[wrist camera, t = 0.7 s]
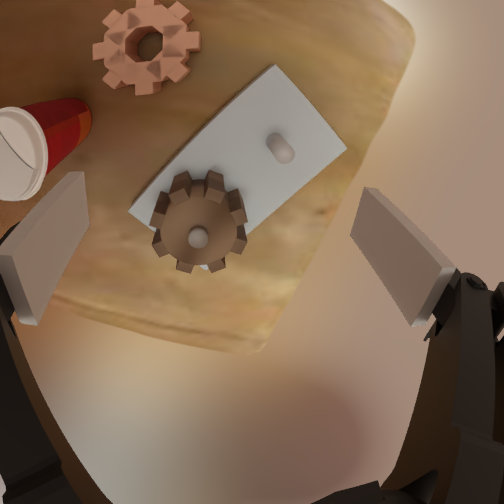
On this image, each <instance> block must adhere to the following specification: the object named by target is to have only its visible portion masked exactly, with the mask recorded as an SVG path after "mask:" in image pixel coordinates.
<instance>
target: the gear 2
mask: <svg viewBox="0 0 504 504" xmlns="http://www.w3.org/2000/svg"><path fill="white" fill-rule="evenodd" d="M247 222H248V220H247V215H246V211H245V206H244V202H243V199H242V197H241V194H240V192H239V190H238V188H237V189H234V190H232V191H229V192H227V191H226V190H225V187H224V178H223V175H222V174H220V173H217V172H214V171H211V170H209V171H208V173H207V175H206V178H205V180H204V179H196V180H192V178H191V176H190V174H189V172H188V170H187V171H185V172H183V173H181V174H178V175H176V176H174V178H173V181H172V184H171V188H170V191H169V193H166V192H163V191H160V194H159V197H158V200H157V202H156V205H155V208H154V211H153V214H152V217H151V220H150V223H149V226H152V227H155V228H156V231H155V235H154V239H153V242H152V247H153V248H154V250H155V251H156V253H157V254H158V256H159V257H162V256H164V255H167V254H169V253H170V254H171V255H172V256H173V257H174V258H176V259H177V265H176V270H180V271H183V272H186V273H190V274H191V271H192V269H193V267H194V265H207V266H208V268H209V269H210V271H211V273H213V272H215V271H218V270H221V269H224V268H226V266H225V256H226V255H227V254H228V253H229V252H230V251H231V252H234V253H237V254H242V252H243V250H244V248H245V246H246V244H247V237H246V232H245V228H244V223H247Z"/></svg>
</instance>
